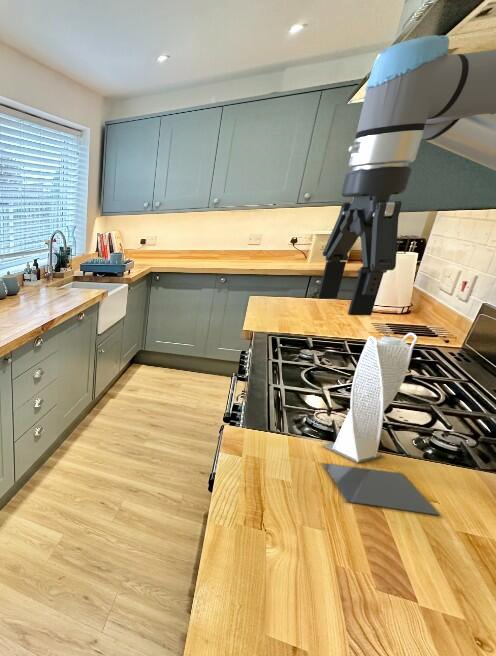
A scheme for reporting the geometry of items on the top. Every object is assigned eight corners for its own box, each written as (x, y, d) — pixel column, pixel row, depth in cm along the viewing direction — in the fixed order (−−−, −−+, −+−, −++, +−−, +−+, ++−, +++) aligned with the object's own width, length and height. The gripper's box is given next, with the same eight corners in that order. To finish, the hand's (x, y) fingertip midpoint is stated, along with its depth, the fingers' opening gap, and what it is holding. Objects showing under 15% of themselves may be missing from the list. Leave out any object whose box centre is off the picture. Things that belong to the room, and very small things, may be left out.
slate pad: (401, 474, 84) (401, 473, 84) (438, 515, 73) (439, 514, 73) (323, 464, 88) (323, 463, 88) (347, 502, 77) (347, 501, 77)
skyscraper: (389, 459, 89) (436, 332, 78) (361, 467, 87) (405, 338, 76) (347, 441, 96) (385, 323, 86) (320, 447, 94) (355, 327, 84)
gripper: (319, 174, 75) (293, 292, 83) (388, 163, 54) (344, 323, 62) (371, 170, 73) (339, 292, 81) (465, 156, 51) (409, 324, 59)
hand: (341, 306), depth 71 cm, fingers open, 13 cm apart
